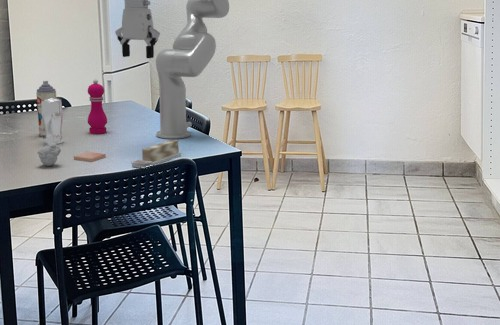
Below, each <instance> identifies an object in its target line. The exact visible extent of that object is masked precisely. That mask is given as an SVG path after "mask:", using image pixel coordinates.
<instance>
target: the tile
mask: <svg viewBox="0 0 500 325" xmlns="http://www.w3.org/2000/svg"><path fill="white" fill-rule="evenodd" d="M106 154H107V153H101V152H93V151H87V152H86V151H85V152H82V153H80V154H76V155H74V156H73V160H74V161H81V162H88V163H93V162H97V161H99V160H102V159H104V158H106Z"/></svg>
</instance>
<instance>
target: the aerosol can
mask: <svg viewBox="0 0 500 325" xmlns="http://www.w3.org/2000/svg"><path fill="white" fill-rule="evenodd" d="M43 99H57V91H56V88H54V87H53V86H52V85H51V84H50V83H49V80H43V81H42V84H41V85H40V86H39V87H38V88H37V89H36V103H37V104H36V105H37V106H36V107H37V119H38V121H37V122H38V132H39V137H40V138H46V131H45V126H44V123H43V118H42V100H43Z"/></svg>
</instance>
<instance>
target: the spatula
mask: <svg viewBox="0 0 500 325" xmlns="http://www.w3.org/2000/svg"><path fill="white" fill-rule="evenodd" d="M141 151H142V152H141V153H142V155H141V156H142V159H137V160H134V161H132V162H131V163H130V164H131V165H139V166H147V165H150V164H153V162H154V161H156V160H159V159H162V158H165V157H167V156H170V155H173V154H176V153H180V151H179V140H178V139H169V140H167V141H163V142H161V143H157V144H154V145H151V146H148V147H145V148H143V149H141Z"/></svg>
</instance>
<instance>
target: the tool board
mask: <svg viewBox="0 0 500 325" xmlns="http://www.w3.org/2000/svg"><path fill="white" fill-rule="evenodd" d="M181 156H182V153H180V152H178V153H176V154H173V155H170V156H167V157H165V158H162V159H159V160H156V161H154V162H153V164H150V165H154V166H156V165H155V164H157V165H159V164H158V163H160V164H162V163H165V162H167V161H170V160H173V159H175V158H178V157H181ZM131 165H132V164H131ZM150 165H147V166H150ZM132 167H133V168H139V169H141V168H140V167H146V166H139V165H132Z"/></svg>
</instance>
